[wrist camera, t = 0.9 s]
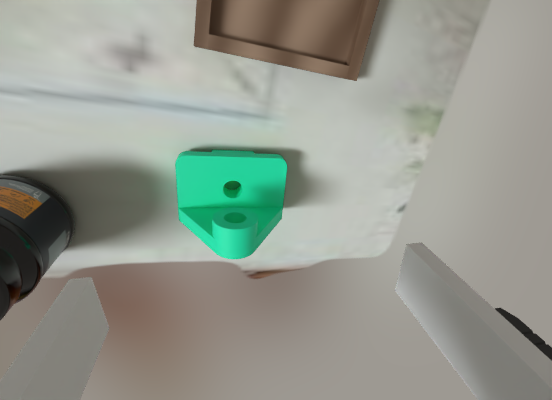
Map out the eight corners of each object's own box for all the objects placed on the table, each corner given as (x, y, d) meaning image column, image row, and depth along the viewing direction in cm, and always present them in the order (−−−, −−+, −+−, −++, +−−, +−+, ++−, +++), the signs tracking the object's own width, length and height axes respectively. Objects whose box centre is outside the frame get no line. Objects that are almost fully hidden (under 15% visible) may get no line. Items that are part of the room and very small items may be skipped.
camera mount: (283, 151, 34) (307, 185, 25) (277, 208, 38) (296, 256, 29) (177, 148, 32) (162, 183, 23) (181, 209, 35) (169, 261, 26)
